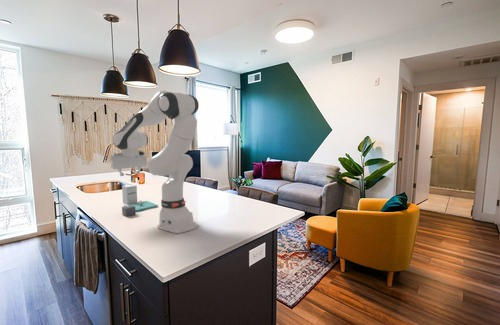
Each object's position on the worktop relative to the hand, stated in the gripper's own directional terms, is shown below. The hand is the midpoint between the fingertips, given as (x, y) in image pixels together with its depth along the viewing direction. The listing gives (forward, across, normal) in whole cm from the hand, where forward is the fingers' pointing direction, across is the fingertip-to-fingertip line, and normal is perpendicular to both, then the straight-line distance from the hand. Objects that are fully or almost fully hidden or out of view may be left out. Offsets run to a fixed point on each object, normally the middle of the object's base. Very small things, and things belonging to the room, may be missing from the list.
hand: (130, 174), depth 144 cm
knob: (+25, -2, 0) cm, 25 cm away
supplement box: (+26, +10, +26) cm, 38 cm away
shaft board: (+25, +10, +10) cm, 29 cm away
